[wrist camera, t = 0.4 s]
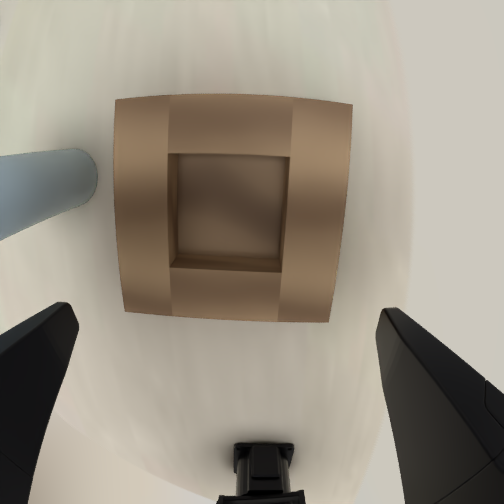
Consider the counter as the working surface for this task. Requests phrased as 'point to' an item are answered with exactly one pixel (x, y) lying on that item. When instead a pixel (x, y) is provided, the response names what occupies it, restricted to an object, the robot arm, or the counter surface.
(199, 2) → the counter surface
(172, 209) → the holder
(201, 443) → the counter surface
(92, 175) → the peg
